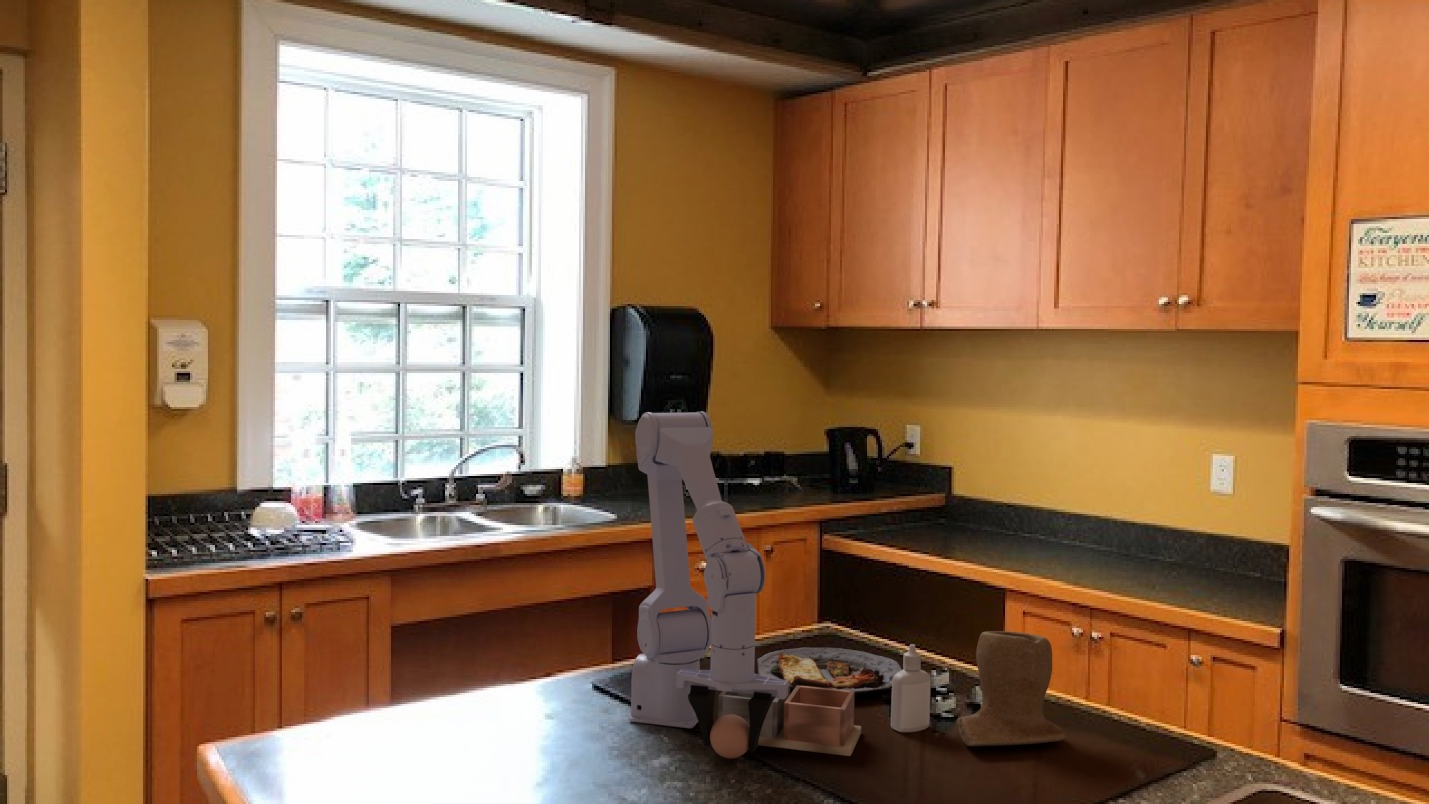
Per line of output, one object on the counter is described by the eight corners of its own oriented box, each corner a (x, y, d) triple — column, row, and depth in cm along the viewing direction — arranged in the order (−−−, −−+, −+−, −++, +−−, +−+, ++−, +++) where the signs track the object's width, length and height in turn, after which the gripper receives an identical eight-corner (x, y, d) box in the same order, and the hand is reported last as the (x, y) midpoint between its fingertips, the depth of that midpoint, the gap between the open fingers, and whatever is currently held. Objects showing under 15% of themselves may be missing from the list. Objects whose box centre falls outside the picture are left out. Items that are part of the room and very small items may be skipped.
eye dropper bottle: (932, 734, 161) (935, 649, 160) (892, 733, 161) (894, 648, 160) (927, 723, 165) (929, 641, 165) (888, 722, 165) (890, 640, 165)
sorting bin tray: (709, 739, 157) (710, 696, 157) (727, 717, 166) (728, 676, 166) (850, 756, 152) (851, 711, 151) (861, 733, 161) (862, 691, 160)
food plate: (914, 705, 173) (914, 682, 173) (759, 703, 173) (759, 680, 173) (891, 662, 198) (891, 641, 198) (755, 660, 198) (755, 640, 198)
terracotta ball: (704, 761, 148) (705, 719, 147) (716, 747, 153) (716, 706, 153) (745, 767, 146) (746, 724, 146) (756, 752, 152) (756, 711, 151)
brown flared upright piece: (1034, 721, 167) (1037, 620, 166) (1076, 751, 155) (1080, 642, 154) (936, 727, 164) (939, 623, 163) (971, 757, 152) (975, 646, 151)
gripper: (670, 646, 147) (668, 750, 148) (780, 657, 143) (778, 763, 144) (686, 632, 154) (684, 731, 155) (792, 642, 150) (790, 744, 151)
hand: (730, 746), depth 150 cm, fingers closed on terracotta ball, 5 cm apart
